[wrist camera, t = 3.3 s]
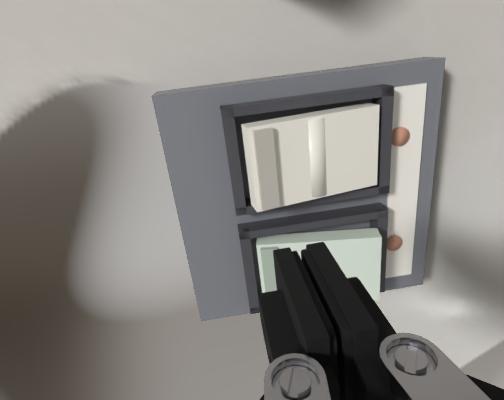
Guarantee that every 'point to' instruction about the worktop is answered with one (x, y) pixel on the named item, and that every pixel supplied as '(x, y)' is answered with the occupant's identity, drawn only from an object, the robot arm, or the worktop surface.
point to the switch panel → (308, 212)
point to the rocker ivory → (311, 155)
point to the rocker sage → (341, 247)
